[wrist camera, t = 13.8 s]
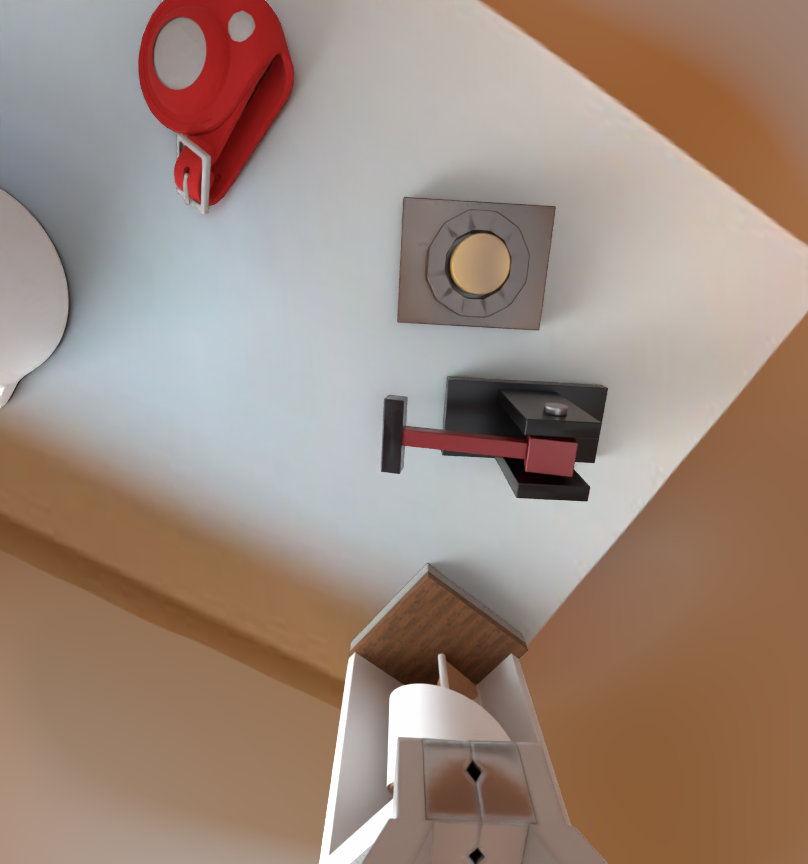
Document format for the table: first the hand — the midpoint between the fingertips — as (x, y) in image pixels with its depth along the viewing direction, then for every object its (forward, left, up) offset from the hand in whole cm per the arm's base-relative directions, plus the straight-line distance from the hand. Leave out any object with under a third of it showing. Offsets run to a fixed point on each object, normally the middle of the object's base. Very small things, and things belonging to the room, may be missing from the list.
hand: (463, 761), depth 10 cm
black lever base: (+8, 0, -29) cm, 30 cm away
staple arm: (+4, 0, -23) cm, 24 cm away
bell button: (+3, +11, -25) cm, 28 cm away
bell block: (+3, +11, -29) cm, 31 cm away
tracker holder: (-15, +20, -29) cm, 39 cm away
